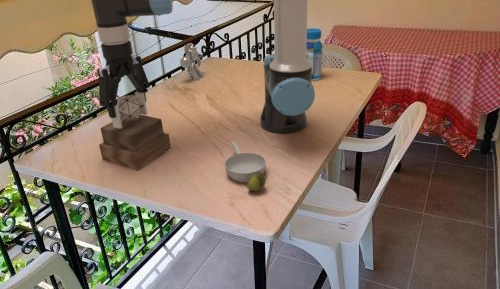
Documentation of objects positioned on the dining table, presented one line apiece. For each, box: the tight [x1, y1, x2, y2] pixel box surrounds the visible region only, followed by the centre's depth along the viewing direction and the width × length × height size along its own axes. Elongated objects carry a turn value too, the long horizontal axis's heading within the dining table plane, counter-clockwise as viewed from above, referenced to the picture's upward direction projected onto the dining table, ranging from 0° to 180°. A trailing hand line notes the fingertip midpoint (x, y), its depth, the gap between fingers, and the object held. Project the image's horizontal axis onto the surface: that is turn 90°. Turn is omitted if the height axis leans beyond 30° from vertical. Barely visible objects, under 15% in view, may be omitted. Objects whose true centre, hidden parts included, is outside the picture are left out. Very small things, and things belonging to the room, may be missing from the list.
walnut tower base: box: [98, 114, 172, 171], centre depth 123 cm, size 14×14×10 cm
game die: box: [116, 91, 144, 124], centre depth 118 cm, size 9×8×10 cm
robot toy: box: [179, 42, 204, 81], centre depth 181 cm, size 15×6×15 cm, turn 158°
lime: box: [246, 172, 266, 192], centre depth 104 cm, size 4×5×5 cm
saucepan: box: [224, 140, 267, 183], centre depth 115 cm, size 11×18×4 cm, turn 17°
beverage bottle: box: [306, 28, 324, 82], centre depth 174 cm, size 8×8×20 cm
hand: (130, 120), depth 120 cm, fingers closed on game die, 9 cm apart
